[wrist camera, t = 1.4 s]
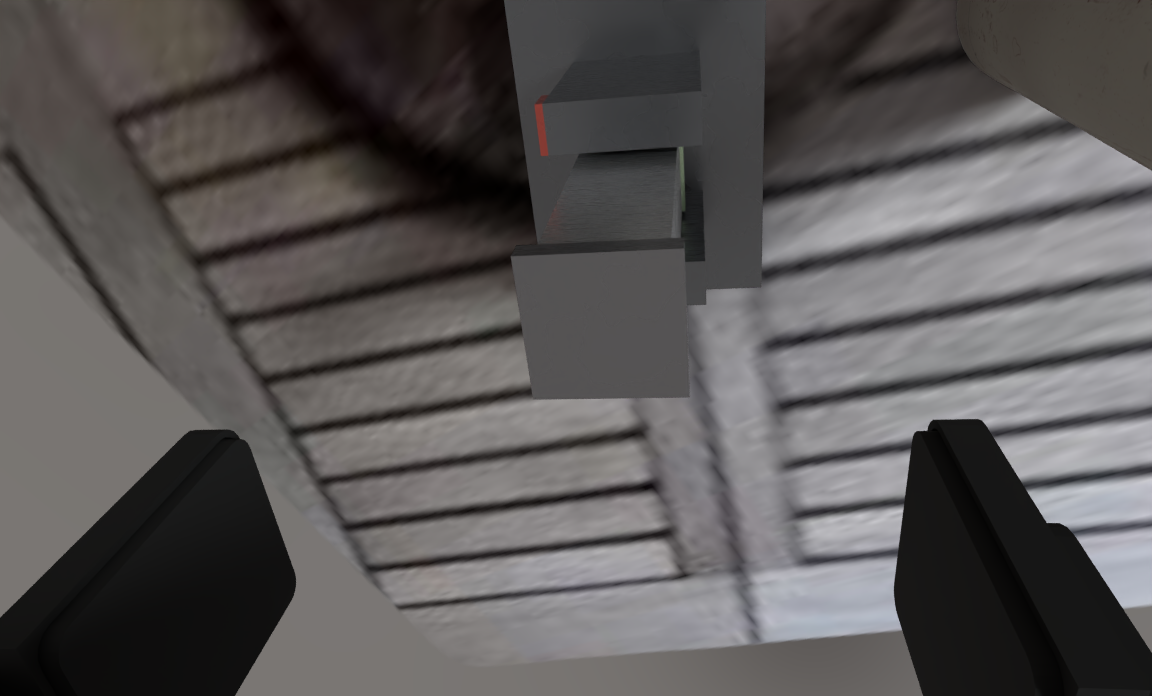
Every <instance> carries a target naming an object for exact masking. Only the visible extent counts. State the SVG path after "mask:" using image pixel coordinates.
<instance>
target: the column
mask: <svg viewBox="0 0 1152 696" xmlns="http://www.w3.org/2000/svg"><path fill="white" fill-rule="evenodd" d="M685 206H686V200H685V172H684V146H683V147H669V148H654V149H639V150H625V151H610V152H595V153H580V154H579V155H578V157H577V160H576V162H575V164H574V166H573V168H572V171H571V173H570V175H569V177H568V179H567V182H566V184H565V186H564V188H563V190H562V192H561V195H560V197H559V199H558V201H557V203H556V206H555V208H554V210H553V212H552V214H551V217H550V219H549V221H548V223H547V225H546V228H545V230H544V232H543V234H542V236H541V239H540V241H539V243H538V244H537V245H516V247H515V249H514V251H513V253H512V255H511V261H512V268H513V274H514V280H515V287H516V293H517V299H518V306H519V312H520V318H521V325H522V331H523V337H524V344H525V350H526V356H527V363H528V369H529V375H530V382H531V388H532V394H533V399H604V398H676V397H690V379H689V352H688V325H687V298H686V271H685V244H684V237H681V224H682V211H685Z"/></svg>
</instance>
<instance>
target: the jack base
mask: <svg viewBox="0 0 1152 696" xmlns="http://www.w3.org/2000/svg"><path fill="white" fill-rule="evenodd" d="M504 4H505V11H506V18H507V25H508V33H509V40H510V47H511V54H512V62H513V69H514V76H515V83H516V91H517V98H518V105H519V112H520V120H521V127H522V134H523V141H524V149H525V156H526V163H527V170H528V178H529V185H530V192H531V199H532V207H533V214H534V221H535V228H536V236H537V243H539V241H540V239H541V236H542V234H543V232H544V230H545V228H546V225H547V223H548V221H549V219H550V217H551V214H552V212H553V210H554V208H555V206H556V203H557V201H558V199H559V197H560V195H561V192H562V190H563V188H564V186H565V184H566V182H567V179H568V177H569V175H570V173H571V171H572V168H573V166H574V164H575V162H576V160H577V157H578V155H579V154H580V153H595V152H610V151H625V150H639V149H654V148H669V147H683V146H684V172H685V200H686V206H685V211H682V224H681V237H684V244H685V271H686V298H687V305H706V289H730V288H757V287H761V271H762V210H763V149H764V87H765V26H766V0H504Z"/></svg>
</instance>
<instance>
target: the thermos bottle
mask: <svg viewBox="0 0 1152 696" xmlns="http://www.w3.org/2000/svg"><path fill="white" fill-rule="evenodd" d="M956 22H957V31H958V36H959V39H960V41H961V44H962V47H963V49H964V51H965V53H966V54H967V56H968V57H969V59H970V60H971V62H972V63H973V64H974V65H975V66H977V67H978V68H979V69H980V70H981V71H982V72H983V73H985V74H986V75H988V76H990V77H991V78H993V79H994V80H996V81H998V82H999V83H1001V84H1003V85H1005V86H1007V87H1008V88H1010V89H1012V90H1014V91H1016V92H1018V93H1020V94H1021V95H1023V96H1024V97H1026V98H1028V99H1030V100H1031V101H1033V102H1035V103H1036V104H1038V105H1040V106H1042V107H1043V108H1045V109H1047V110H1048V111H1050V112H1052V113H1054V114H1055V115H1057V116H1059V117H1061V118H1063V119H1064V120H1066V121H1068V122H1070V123H1072V124H1073V125H1075V126H1077V127H1078V128H1080V129H1082V130H1084V131H1085V132H1087V133H1089V134H1090V135H1092V136H1094V137H1095V138H1097V139H1099V140H1100V141H1102V142H1104V143H1105V144H1107V145H1109V146H1110V147H1112V148H1114V149H1116V150H1117V151H1119V152H1121V153H1122V154H1124V155H1126V156H1128V157H1129V158H1131V159H1133V160H1134V161H1136V162H1138V163H1140V164H1141V165H1143V166H1145V167H1146V168H1148V169H1150V170H1152V0H957V11H956Z"/></svg>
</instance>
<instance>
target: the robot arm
mask: <svg viewBox="0 0 1152 696" xmlns="http://www.w3.org/2000/svg"><path fill="white" fill-rule="evenodd" d="M295 587H296V576H295V572H294V569H293V567H292V564H291V561H290V558H289V555H288V552H287V550H286V547H285V544H284V541H283V538H282V536H281V533H280V530H279V527H278V525H277V522H276V519H275V516H274V513H273V510H272V508H271V505H270V502H269V499H268V496H267V494H266V491H265V488H264V485H263V482H262V480H261V477H260V474H259V471H258V468H257V466H256V463H255V460H254V457H253V454H252V452H251V449H250V447H249V445H248V443H247V442H246V441H245V440H242V439H240V438H239V436H238V435H237V434H236V433H235V432H234V431H231V430H194V431H189V432H188V433H187V434H185V435H184V436H183V437H182V438H181V439H180V440H179V441H178V442H177V443H176V444H175V445H174V446H173V447H172V448H171V449H170V450H169V451H168V452H167V453H166V454H165V455H164V456H163V457H162V458H161V459H160V460H159V461H158V462H157V463H156V464H155V465H154V466H153V467H152V468H151V469H150V470H149V471H148V472H147V473H146V474H145V475H144V476H143V477H142V478H141V479H140V480H139V481H138V482H137V483H136V484H135V485H134V486H133V487H132V488H131V489H130V490H129V491H127V493H125V495H123V496H122V497H121V498H120V499H119V500H118V502H116V503H115V504H114V506H112V507H111V508H110V509H109V510H108V511H107V512H106V513H105V514H104V515H103V516H102V517H101V518H100V519H99V520H98V521H97V522H96V523H95V524H94V525H93V526H92V527H91V528H90V529H89V530H88V531H87V532H86V533H85V534H84V535H83V536H82V537H81V538H80V539H79V540H78V541H77V542H76V543H75V544H74V545H73V546H72V547H71V548H70V549H69V550H68V551H67V552H66V553H65V554H64V555H63V556H62V557H61V558H60V559H59V560H58V561H57V562H56V563H55V564H54V565H53V566H52V567H51V568H50V569H49V570H48V571H47V572H46V573H45V574H44V575H43V576H42V577H41V578H40V579H39V580H38V581H37V582H36V583H35V584H34V585H33V586H32V587H31V588H30V589H29V590H28V591H27V592H26V593H25V594H24V595H23V596H22V597H21V598H20V599H19V600H18V601H17V602H16V603H15V604H14V605H13V606H12V607H11V608H10V609H9V610H8V611H7V612H6V613H5V614H3V615H2V617H1V618H0V696H235V695H236V693H237V691H238V689H239V688H240V686H241V685H242V683H243V681H244V679H245V678H246V676H247V674H248V673H249V671H250V669H251V667H252V666H253V664H254V663H255V661H256V659H257V657H258V656H259V654H260V653H261V651H262V649H263V647H264V646H265V644H266V642H267V641H268V639H269V637H270V636H271V634H272V632H273V631H274V629H275V627H276V626H277V624H278V622H279V621H280V619H281V617H282V615H283V614H284V612H285V610H286V608H287V607H288V605H289V604H290V602H291V600H292V598H293V596H294V592H295ZM894 598H895V606H896V611H897V615H898V618H899V621H900V624H901V627H902V631H903V634H904V637H905V640H906V643H907V646H908V649H909V652H910V656H911V659H912V662H913V665H914V668H915V671H916V675H917V678H918V681H919V684H920V687H921V690H922V694H923V696H1152V653H1151V651H1150V649H1149V648H1148V647H1147V645H1146V643H1145V642H1144V640H1143V639H1142V637H1141V636H1140V634H1139V633H1138V631H1137V630H1136V628H1135V627H1134V625H1133V624H1132V622H1131V621H1130V619H1129V617H1128V616H1127V614H1126V613H1125V612H1124V610H1123V608H1122V607H1121V605H1120V604H1119V602H1118V601H1117V599H1116V598H1115V596H1114V595H1113V593H1112V592H1111V590H1110V589H1109V587H1108V586H1107V584H1106V582H1105V581H1104V579H1103V578H1102V576H1101V575H1100V573H1099V572H1098V570H1097V569H1096V567H1095V566H1094V564H1093V563H1092V561H1091V560H1090V558H1089V557H1088V555H1087V554H1086V552H1085V551H1084V549H1083V547H1082V546H1081V544H1080V543H1079V541H1078V540H1077V538H1076V537H1075V536H1074V534H1073V533H1072V532H1071V531H1070V530H1069V529H1068V527H1066V526H1064V525H1062V524H1060V523H1046V521H1045V519H1044V518H1043V516H1042V515H1041V513H1040V511H1039V510H1038V508H1037V507H1036V505H1035V503H1034V502H1033V500H1032V499H1031V497H1030V495H1029V494H1028V492H1027V491H1026V489H1025V487H1024V486H1023V484H1022V483H1021V481H1020V479H1019V478H1018V476H1017V475H1016V473H1015V471H1014V470H1013V468H1012V467H1011V465H1010V463H1009V462H1008V460H1007V459H1006V457H1005V455H1004V454H1003V452H1002V451H1001V449H1000V447H999V446H998V444H997V442H996V441H995V439H994V438H993V436H992V434H991V433H990V431H989V430H988V428H987V426H986V425H985V424H984V423H983V421H982V420H979V419H957V420H933V421H931V422H930V424H929V426H928V430H927V431H917V432H915V434H914V436H913V440H912V447H911V455H910V463H909V471H908V479H907V487H906V495H905V503H904V510H903V518H902V526H901V534H900V542H899V550H898V558H897V566H896V574H895V582H894Z"/></svg>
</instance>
